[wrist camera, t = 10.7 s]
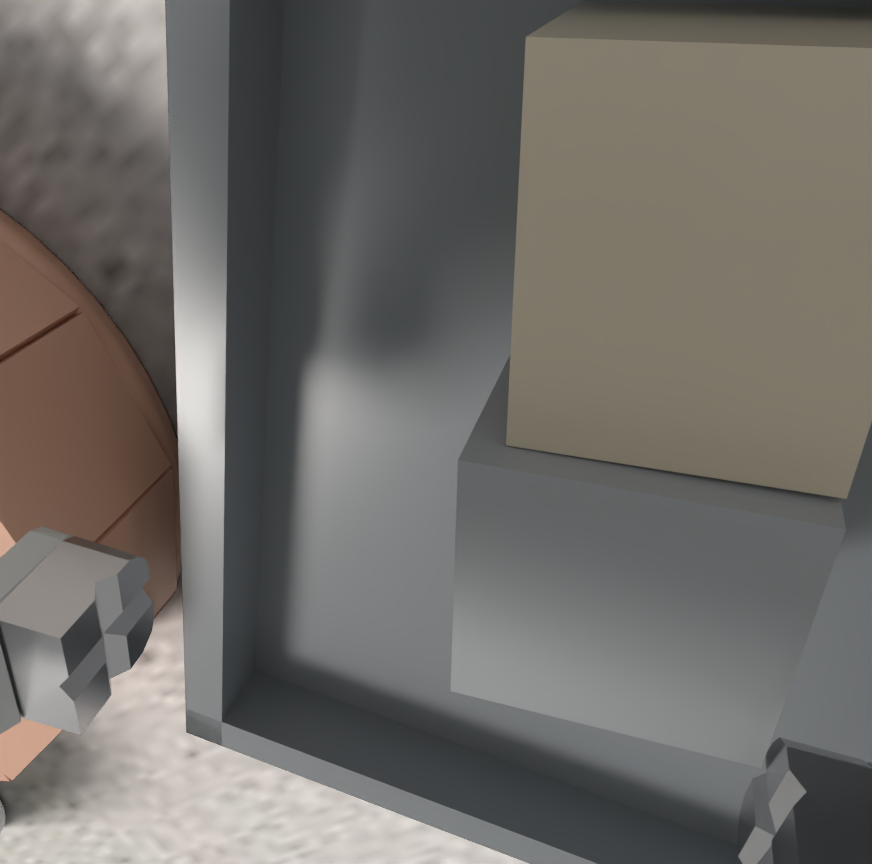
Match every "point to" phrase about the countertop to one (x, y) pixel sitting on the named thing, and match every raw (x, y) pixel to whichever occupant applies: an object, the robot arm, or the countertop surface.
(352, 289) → the parts tray
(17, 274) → the bowl
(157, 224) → the countertop surface
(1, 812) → the supplement bottle
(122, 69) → the countertop surface
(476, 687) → the grey sharp-edged cube block
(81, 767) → the countertop surface
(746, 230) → the beige sharp-edged rectangular block
